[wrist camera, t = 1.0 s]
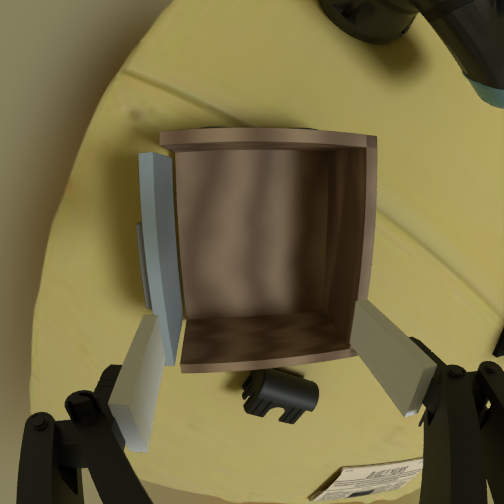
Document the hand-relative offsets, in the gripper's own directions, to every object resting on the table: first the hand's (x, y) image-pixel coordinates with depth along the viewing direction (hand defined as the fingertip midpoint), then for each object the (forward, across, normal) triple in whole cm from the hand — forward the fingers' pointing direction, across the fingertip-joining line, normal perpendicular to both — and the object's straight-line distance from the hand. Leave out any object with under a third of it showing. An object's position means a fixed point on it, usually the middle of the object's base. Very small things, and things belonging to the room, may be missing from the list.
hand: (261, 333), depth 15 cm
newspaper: (+25, +38, -73) cm, 86 cm away
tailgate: (+22, -7, 0) cm, 23 cm away
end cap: (+24, +6, -24) cm, 35 cm away
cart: (+24, +3, 0) cm, 24 cm away
